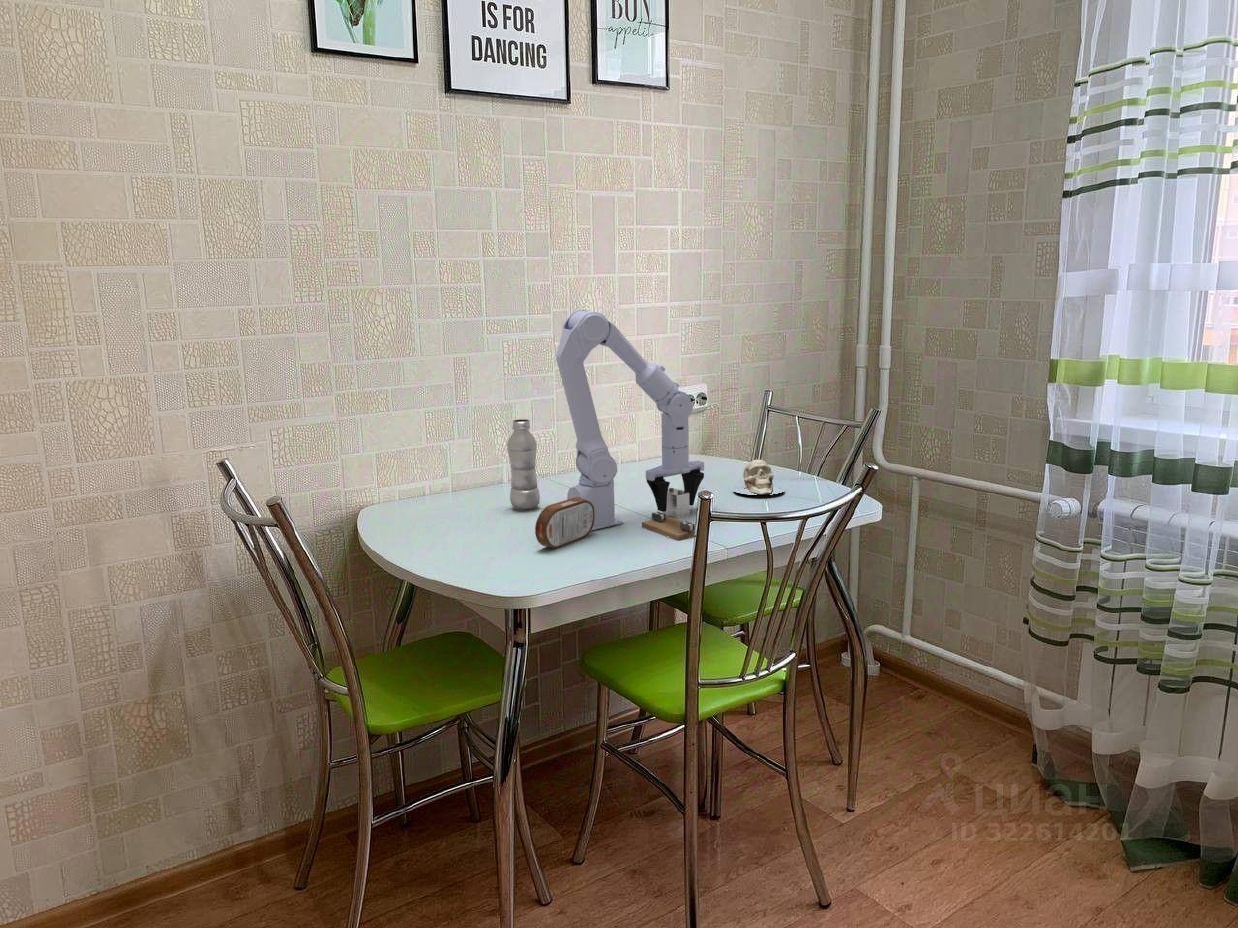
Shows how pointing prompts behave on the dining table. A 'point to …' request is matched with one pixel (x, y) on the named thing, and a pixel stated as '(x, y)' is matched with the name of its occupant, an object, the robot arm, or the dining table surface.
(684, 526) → the chain ends
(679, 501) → the grey toy brick
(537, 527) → the tin
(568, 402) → the robot arm
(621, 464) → the dining table surface
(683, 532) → the board
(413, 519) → the dining table surface
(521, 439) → the plastic bottle
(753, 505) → the dining table surface
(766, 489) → the skull
